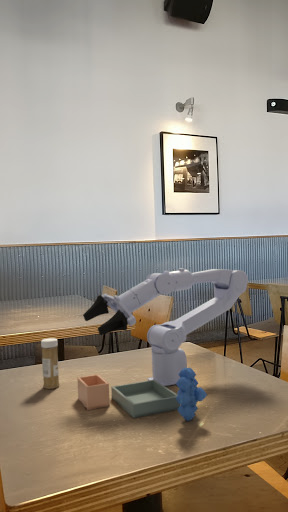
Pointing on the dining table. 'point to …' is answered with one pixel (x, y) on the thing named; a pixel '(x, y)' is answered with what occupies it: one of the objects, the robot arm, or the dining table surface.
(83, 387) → the small crate
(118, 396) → the base crate
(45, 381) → the sprinkles bottle
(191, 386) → the grapes
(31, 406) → the dining table surface
